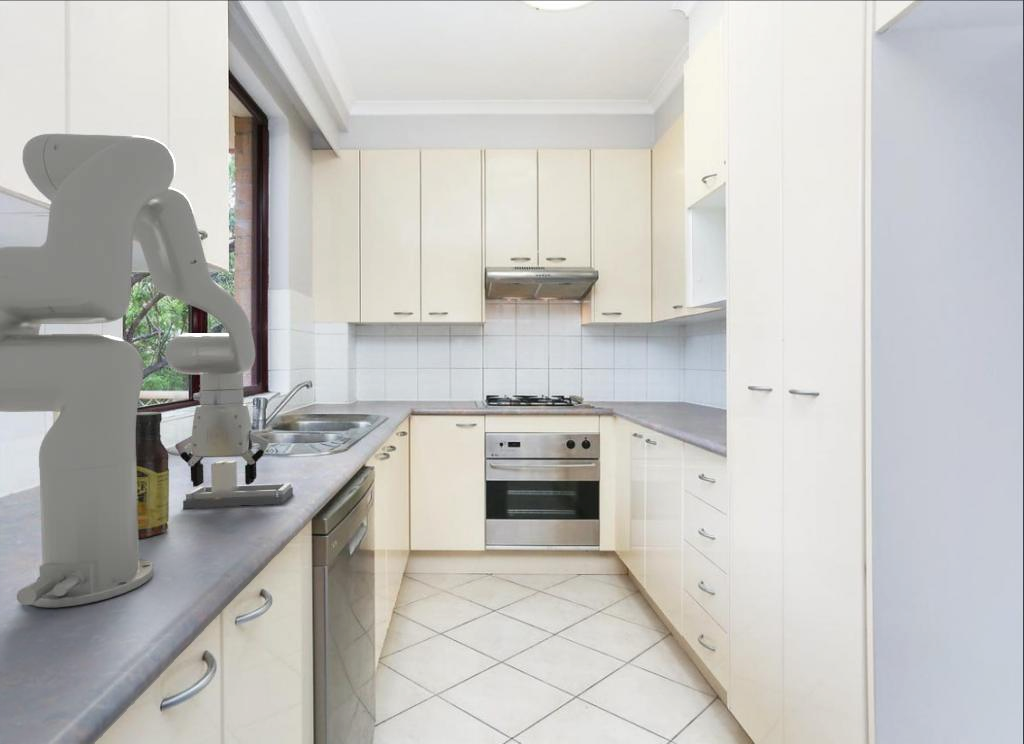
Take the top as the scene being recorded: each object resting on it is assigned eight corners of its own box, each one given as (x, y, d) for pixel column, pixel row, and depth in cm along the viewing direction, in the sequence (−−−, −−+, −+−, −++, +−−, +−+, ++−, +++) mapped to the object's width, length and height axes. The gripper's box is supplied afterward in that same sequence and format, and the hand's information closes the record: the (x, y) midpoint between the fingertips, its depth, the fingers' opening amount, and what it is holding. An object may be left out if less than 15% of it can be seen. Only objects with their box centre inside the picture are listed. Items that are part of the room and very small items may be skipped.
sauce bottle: (113, 537, 86) (110, 413, 85) (152, 526, 92) (149, 410, 91) (141, 542, 84) (138, 415, 83) (179, 530, 89) (176, 411, 89)
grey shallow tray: (282, 504, 105) (282, 491, 105) (183, 508, 102) (182, 495, 102) (292, 493, 113) (292, 482, 113) (201, 497, 110) (200, 485, 110)
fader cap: (230, 494, 106) (230, 463, 106) (211, 495, 105) (210, 464, 105) (237, 490, 109) (236, 460, 109) (218, 490, 109) (218, 460, 108)
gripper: (166, 400, 102) (168, 490, 102) (262, 399, 104) (264, 486, 105) (184, 397, 109) (186, 481, 110) (273, 396, 112) (275, 478, 112)
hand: (224, 484), depth 107 cm, fingers open, 9 cm apart
